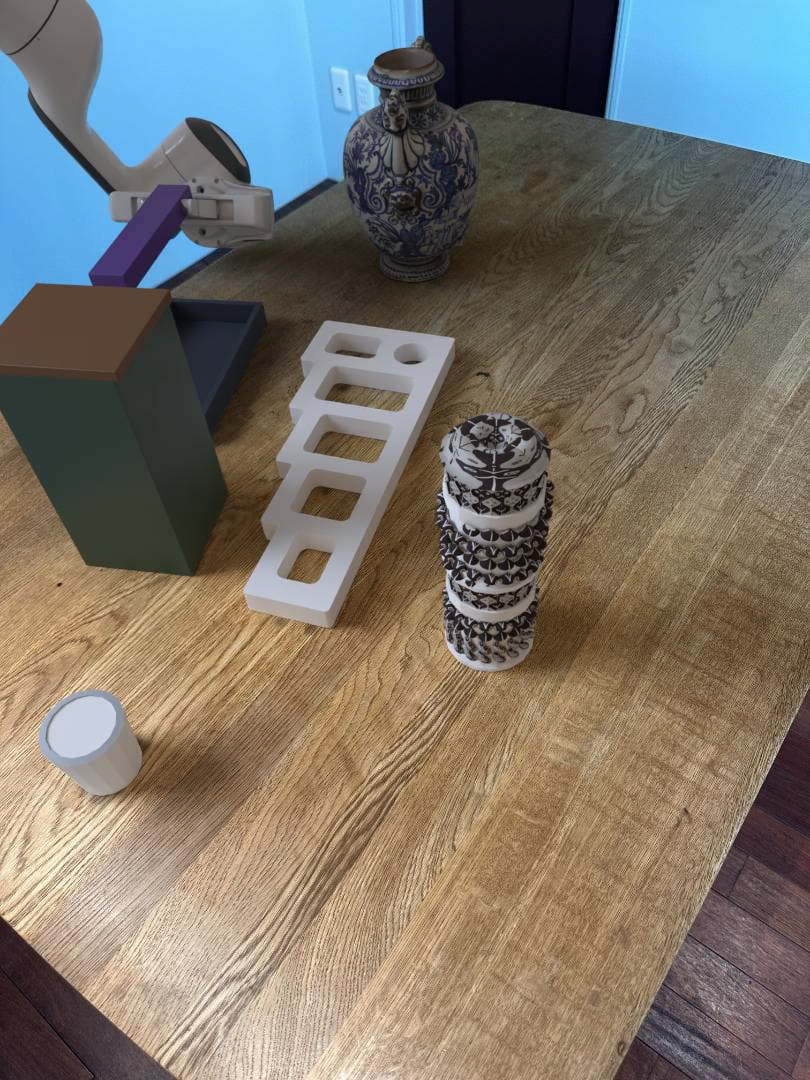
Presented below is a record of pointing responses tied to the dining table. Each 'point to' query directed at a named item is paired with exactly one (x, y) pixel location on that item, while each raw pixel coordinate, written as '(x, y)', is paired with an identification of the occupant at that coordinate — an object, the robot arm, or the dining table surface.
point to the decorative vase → (411, 167)
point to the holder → (342, 461)
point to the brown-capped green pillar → (112, 424)
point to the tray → (217, 347)
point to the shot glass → (91, 742)
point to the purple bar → (142, 239)
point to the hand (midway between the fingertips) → (164, 206)
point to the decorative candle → (493, 537)
